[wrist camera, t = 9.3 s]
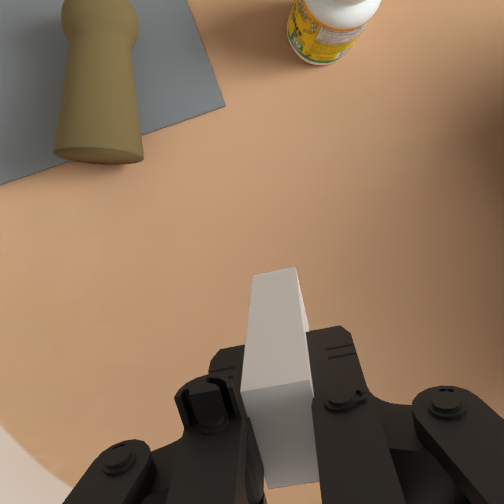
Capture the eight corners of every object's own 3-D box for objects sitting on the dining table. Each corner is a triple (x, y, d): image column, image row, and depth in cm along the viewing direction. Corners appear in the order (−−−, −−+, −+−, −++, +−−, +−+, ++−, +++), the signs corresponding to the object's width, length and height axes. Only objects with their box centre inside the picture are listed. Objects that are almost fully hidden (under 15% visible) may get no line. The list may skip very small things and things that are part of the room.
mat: (151, -94, 36) (150, -97, 36) (225, 106, 37) (225, 105, 37) (-84, -21, 35) (-86, -24, 35) (-2, 185, 36) (-4, 185, 35)
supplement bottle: (350, 70, 38) (398, 10, 28) (283, 64, 37) (309, 1, 28) (353, 2, 38) (403, -81, 28) (287, -5, 37) (314, -92, 28)
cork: (31, 150, 32) (33, -16, 32) (94, 166, 37) (95, 25, 37) (106, 143, 29) (108, -36, 29) (160, 161, 35) (162, 11, 35)
